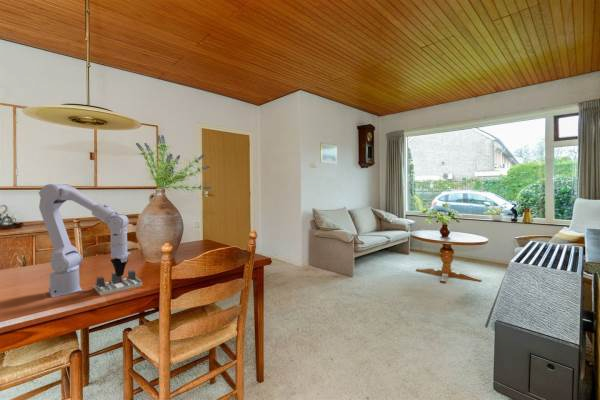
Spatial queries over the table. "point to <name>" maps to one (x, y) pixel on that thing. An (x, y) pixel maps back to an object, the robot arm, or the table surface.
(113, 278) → the block
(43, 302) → the table surface
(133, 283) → the panel
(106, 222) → the robot arm
